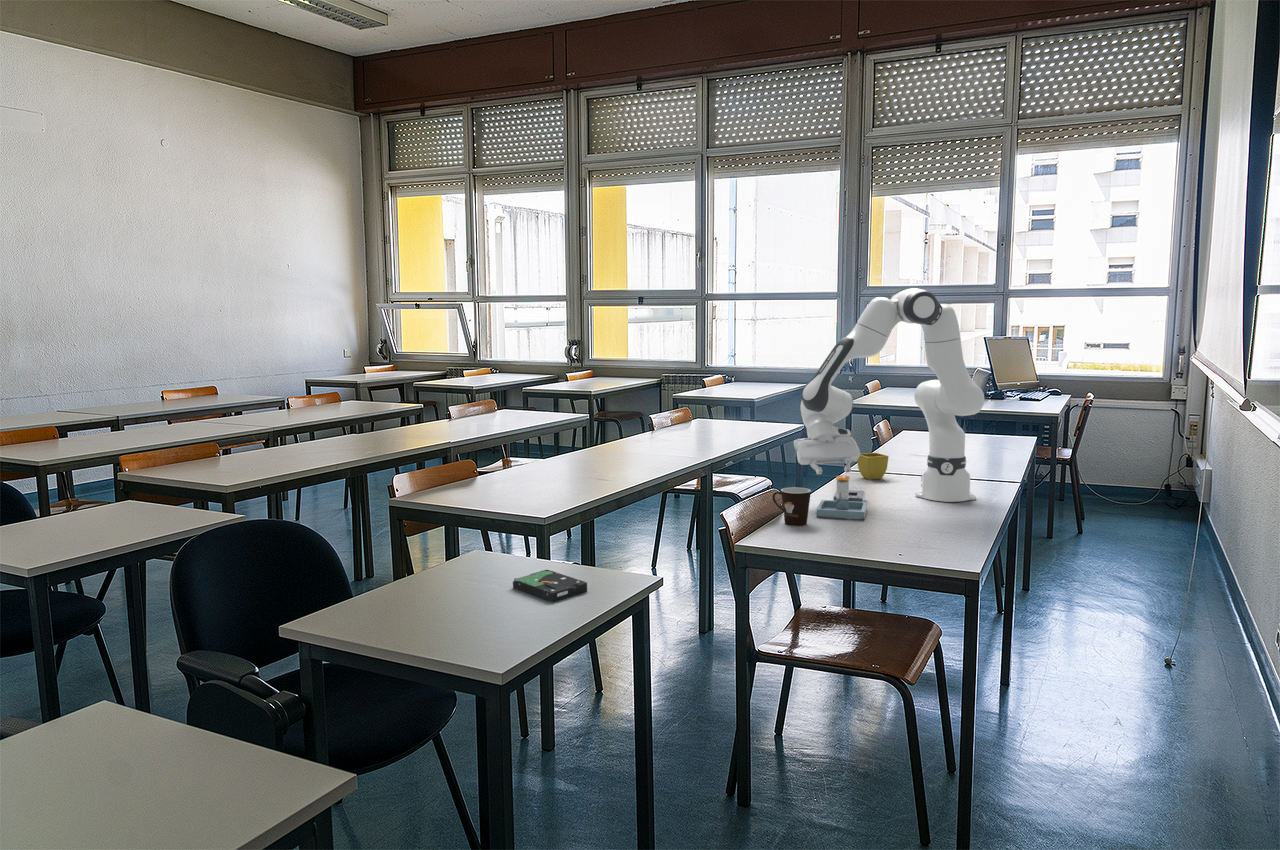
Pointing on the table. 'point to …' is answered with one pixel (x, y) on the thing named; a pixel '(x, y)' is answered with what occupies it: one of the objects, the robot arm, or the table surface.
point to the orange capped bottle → (842, 492)
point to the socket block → (854, 496)
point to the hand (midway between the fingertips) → (834, 472)
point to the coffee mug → (794, 505)
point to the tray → (854, 510)
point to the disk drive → (550, 585)
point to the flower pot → (872, 465)
